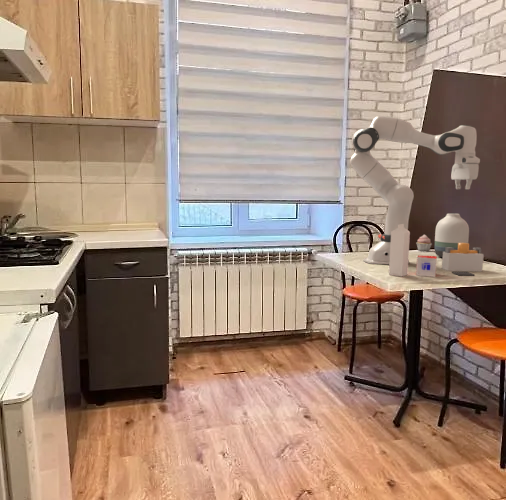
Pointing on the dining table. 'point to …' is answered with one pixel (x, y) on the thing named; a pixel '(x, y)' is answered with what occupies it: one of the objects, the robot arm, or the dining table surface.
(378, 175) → the robot arm
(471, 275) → the mat
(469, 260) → the white rectangular block
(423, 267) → the white printed cube
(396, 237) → the milk
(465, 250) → the cap
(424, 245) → the cupcake
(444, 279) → the dining table surface
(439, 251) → the vase
